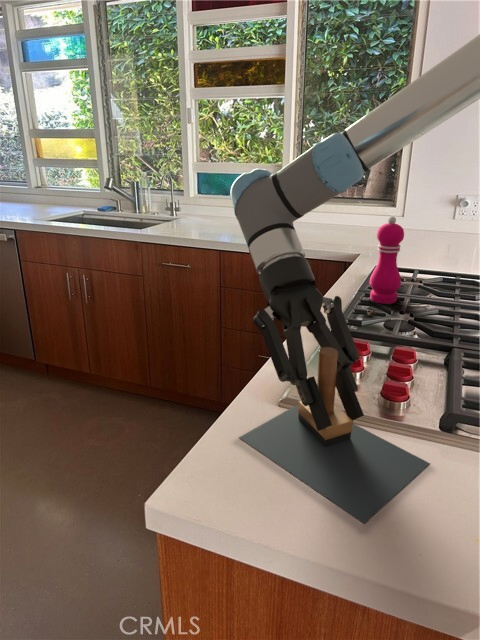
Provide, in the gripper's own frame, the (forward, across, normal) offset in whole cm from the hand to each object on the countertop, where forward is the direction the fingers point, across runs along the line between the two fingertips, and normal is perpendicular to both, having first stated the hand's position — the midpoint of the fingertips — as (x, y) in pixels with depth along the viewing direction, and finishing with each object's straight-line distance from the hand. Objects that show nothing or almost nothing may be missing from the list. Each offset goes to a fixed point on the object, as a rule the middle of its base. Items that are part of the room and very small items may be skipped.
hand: (340, 422), depth 60 cm
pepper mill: (-27, -42, -32) cm, 60 cm away
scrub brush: (0, 0, -5) cm, 5 cm away
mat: (+3, +2, -2) cm, 4 cm away
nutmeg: (-22, -34, -28) cm, 50 cm away
